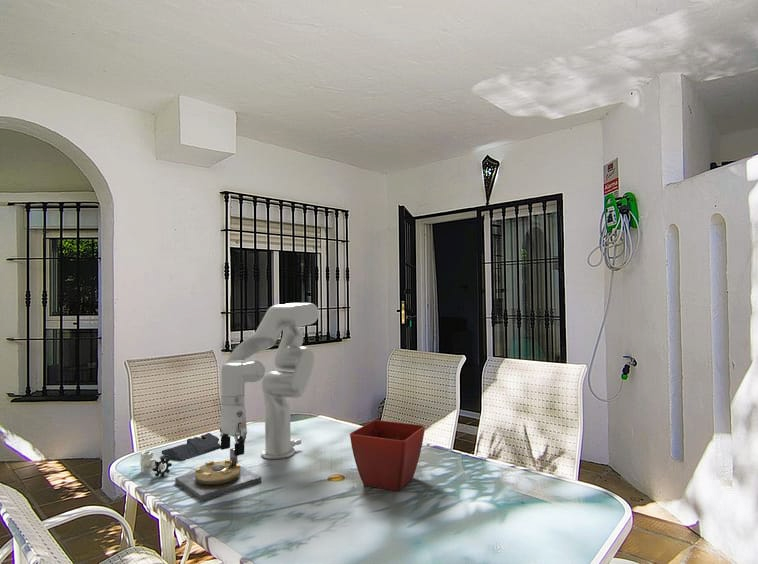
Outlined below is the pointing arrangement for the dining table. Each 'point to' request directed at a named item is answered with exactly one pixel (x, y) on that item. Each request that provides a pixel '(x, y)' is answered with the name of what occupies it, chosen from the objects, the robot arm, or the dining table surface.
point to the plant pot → (387, 453)
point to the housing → (212, 491)
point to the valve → (153, 464)
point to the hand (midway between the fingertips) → (232, 451)
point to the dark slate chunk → (193, 447)
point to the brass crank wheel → (218, 471)
